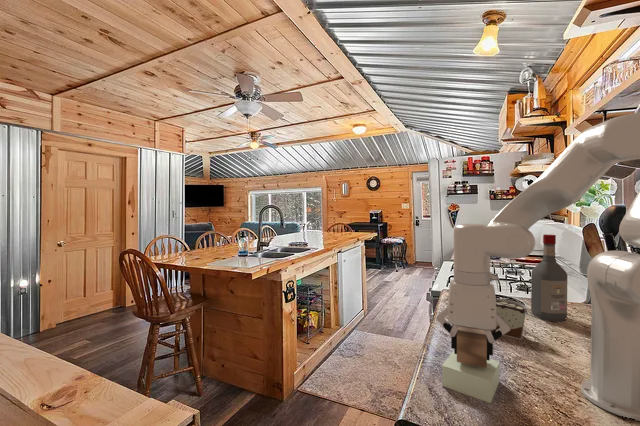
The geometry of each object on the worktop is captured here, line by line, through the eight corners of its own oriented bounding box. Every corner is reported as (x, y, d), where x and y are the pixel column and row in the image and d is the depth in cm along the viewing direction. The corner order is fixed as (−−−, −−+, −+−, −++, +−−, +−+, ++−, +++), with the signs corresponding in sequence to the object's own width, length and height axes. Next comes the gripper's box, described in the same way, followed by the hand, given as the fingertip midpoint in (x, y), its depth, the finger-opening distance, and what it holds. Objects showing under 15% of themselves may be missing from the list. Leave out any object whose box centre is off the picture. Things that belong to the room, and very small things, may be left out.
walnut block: (485, 355, 72) (485, 330, 72) (486, 367, 67) (486, 340, 67) (458, 350, 75) (458, 326, 75) (456, 361, 70) (456, 335, 70)
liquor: (571, 321, 107) (572, 236, 106) (544, 321, 107) (545, 236, 106) (552, 312, 116) (553, 233, 115) (527, 312, 116) (528, 233, 116)
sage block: (499, 382, 72) (499, 361, 72) (490, 404, 64) (491, 381, 64) (454, 368, 78) (454, 349, 78) (442, 386, 70) (442, 365, 70)
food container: (531, 334, 97) (531, 303, 97) (527, 341, 92) (527, 308, 92) (488, 324, 105) (488, 295, 105) (482, 330, 101) (482, 300, 100)
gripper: (513, 277, 70) (513, 355, 70) (433, 271, 78) (434, 341, 78) (517, 285, 63) (517, 371, 64) (430, 277, 71) (430, 354, 71)
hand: (471, 353), depth 71 cm, fingers closed on walnut block, 5 cm apart
